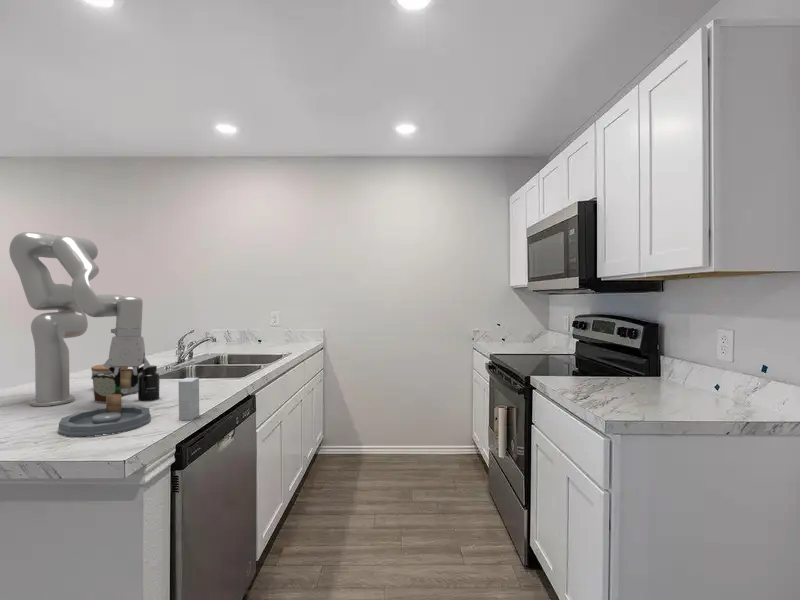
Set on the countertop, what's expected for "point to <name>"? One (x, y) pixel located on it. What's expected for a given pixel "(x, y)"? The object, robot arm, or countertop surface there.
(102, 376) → the food container
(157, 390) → the supplement bottle
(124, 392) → the tin
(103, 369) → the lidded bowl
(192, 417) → the skincare box
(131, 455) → the countertop surface
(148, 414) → the slate tray
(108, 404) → the walnut bead
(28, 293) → the robot arm
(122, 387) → the oak bead
